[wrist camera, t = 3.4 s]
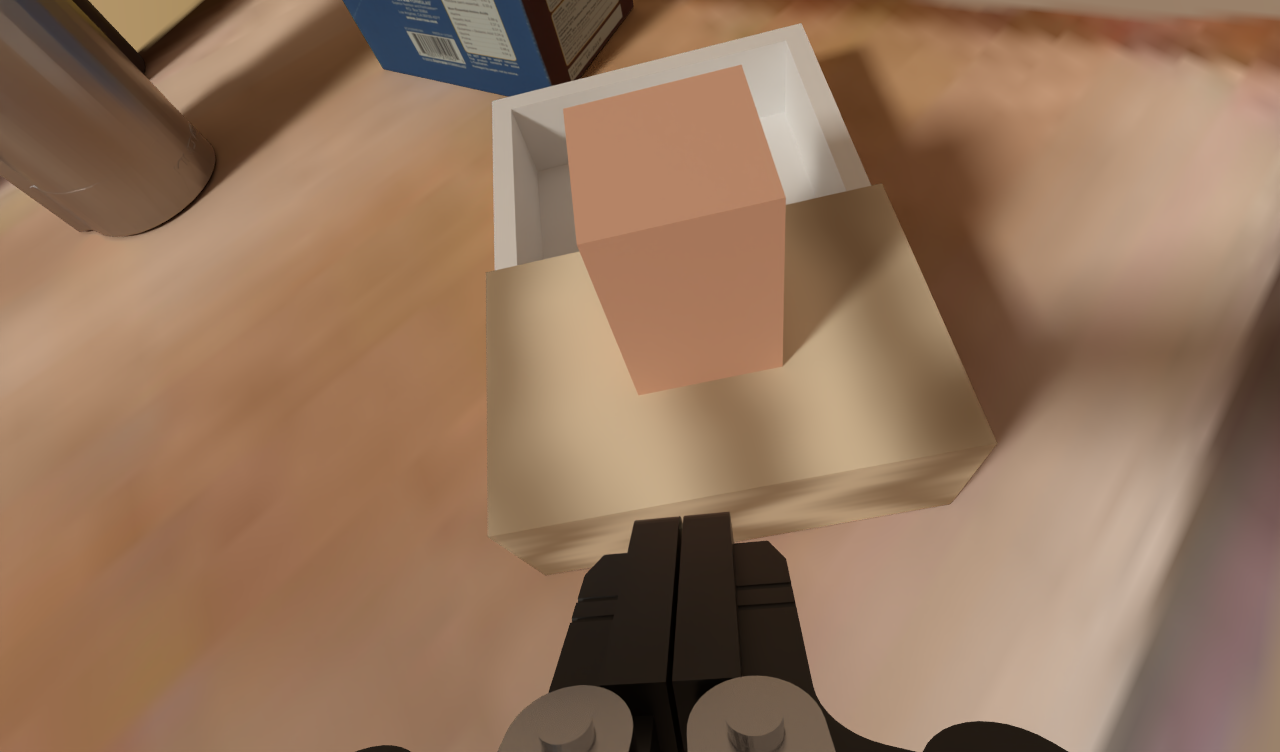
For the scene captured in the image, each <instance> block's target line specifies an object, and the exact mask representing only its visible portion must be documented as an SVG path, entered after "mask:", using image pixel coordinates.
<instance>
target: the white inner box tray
mask: <svg viewBox="0 0 1280 752" xmlns="http://www.w3.org/2000/svg"><path fill="white" fill-rule="evenodd" d="M738 65H742V68H743V71H744V74H745V77H746V80H747V83H748V86H749V89H750V92H751V95H752V98H753V101H754V104H755V107H756V110H757V113H758V116H759V119H760V122H761V125H762V128H763V131H764V134H765V137H766V140H767V143H768V146H769V149H770V152H771V155H772V158H773V161H774V164H775V167H776V170H777V173H778V176H779V179H780V182H781V185H782V188H783V191H784V194H785V197H786V205H787V204H792V203H796V202H801V201H805V200H810V199H814V198H819V197H823V196H827V195H832V194H836V193H841V192H845V191H850V190H854V189H858V188H863V187H867V186H871V183H870V181H869V179H868V177H867V174H866V172H865V170H864V167H863V165H862V163H861V160H860V158H859V156H858V153H857V151H856V149H855V146H854V144H853V142H852V139H851V137H850V135H849V133H848V130H847V128H846V126H845V123H844V121H843V119H842V116H841V114H840V112H839V109H838V107H837V105H836V102H835V100H834V98H833V95H832V93H831V91H830V88H829V86H828V84H827V82H826V79H825V77H824V75H823V72H822V70H821V68H820V65H819V63H818V61H817V58H816V56H815V54H814V51H813V49H812V47H811V44H810V42H809V40H808V38H807V35H806V33H805V31H804V28H803V26H802V24H801V23H800V24H796V25H792V26H788V27H784V28H780V29H776V30H772V31H768V32H764V33H760V34H756V35H753V36H749V37H745V38H741V39H737V40H733V41H729V42H725V43H721V44H717V45H713V46H709V47H705V48H701V49H697V50H693V51H689V52H685V53H681V54H677V55H673V56H669V57H665V58H661V59H657V60H653V61H649V62H645V63H641V64H637V65H634V66H630V67H626V68H622V69H618V70H614V71H610V72H606V73H602V74H598V75H594V76H590V77H586V78H582V79H578V80H574V81H570V82H566V83H562V84H558V85H554V86H550V87H546V88H542V89H538V90H534V91H530V92H526V93H522V94H519V95H515V96H511V97H507V98H503V99H499V100H495V101H492V128H493V189H494V250H495V270H499V269H504V268H508V267H512V266H517V265H521V264H526V263H530V262H535V261H539V260H543V259H548V258H552V257H557V256H561V255H566V254H570V253H575V252H579V249H578V247H577V242H576V232H575V223H574V213H573V203H572V193H571V183H570V173H569V163H568V153H567V144H566V134H565V124H564V114H563V109H564V108H568V107H572V106H576V105H580V104H584V103H589V102H593V101H597V100H601V99H605V98H609V97H613V96H617V95H621V94H625V93H629V92H633V91H637V90H641V89H645V88H649V87H653V86H657V85H661V84H665V83H669V82H673V81H677V80H681V79H685V78H689V77H693V76H697V75H701V74H705V73H709V72H713V71H717V70H721V69H726V68H730V67H734V66H738Z"/></svg>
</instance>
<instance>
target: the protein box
mask: <svg viewBox="0 0 1280 752" xmlns="http://www.w3.org/2000/svg"><path fill="white" fill-rule="evenodd" d="M343 2H344V4H345V5H346V7H347V9H348V10H349V12H350V14H351V16H352V17H353V19H354V21H355V22H356V24H357V26H358V28H359V29H360V31H361V33H362V34H363V36H364V38H365V39H366V41H367V43H368V44H369V46H370V48H371V49H372V51H373V53H374V54H375V56H376V58H377V59H378V61H379V63H380V65H381V66H382V68H383V69H385V70H390V71H394V72H399V73H403V74H408V75H413V76H418V77H422V78H427V79H432V80H436V81H440V82H445V83H450V84H454V85H459V86H463V87H468V88H472V89H477V90H481V91H486V92H490V93H495V94H499V95H504V96H509V97H511V96H515V95H519V94H522V93H526V92H530V91H534V90H538V89H542V88H546V87H550V86H554V85H558V84H562V83H566V82H570V81H574V80H578V79H579V78H580V77H581V75H582V74H583V73H584V71H585V70H586V69H587V67H588V66H589V65H590V64H591V62H592V61H593V59H594V58H595V57H596V55H597V54H598V53H599V52H600V50H601V49H602V48H603V46H604V45H605V44H606V42H607V41H608V40H609V38H610V37H611V36H612V34H613V33H614V32H615V31H616V29H617V28H618V27H619V25H620V24H621V22H622V21H623V20H624V19H625V17H626V16H627V15H628V13H629V12H630V11H631V9H632V8H633V0H343Z"/></svg>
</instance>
